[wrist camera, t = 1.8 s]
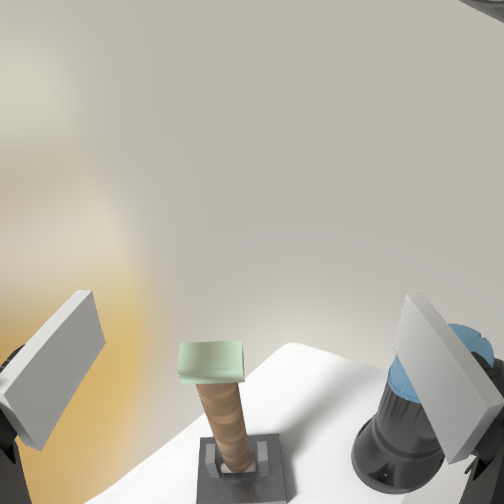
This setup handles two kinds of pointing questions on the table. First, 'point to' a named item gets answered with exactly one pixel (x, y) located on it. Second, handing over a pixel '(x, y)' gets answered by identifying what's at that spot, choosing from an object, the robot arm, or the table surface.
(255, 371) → the table surface
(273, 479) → the stand base
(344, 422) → the table surface
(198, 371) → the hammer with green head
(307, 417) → the table surface
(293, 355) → the table surface
